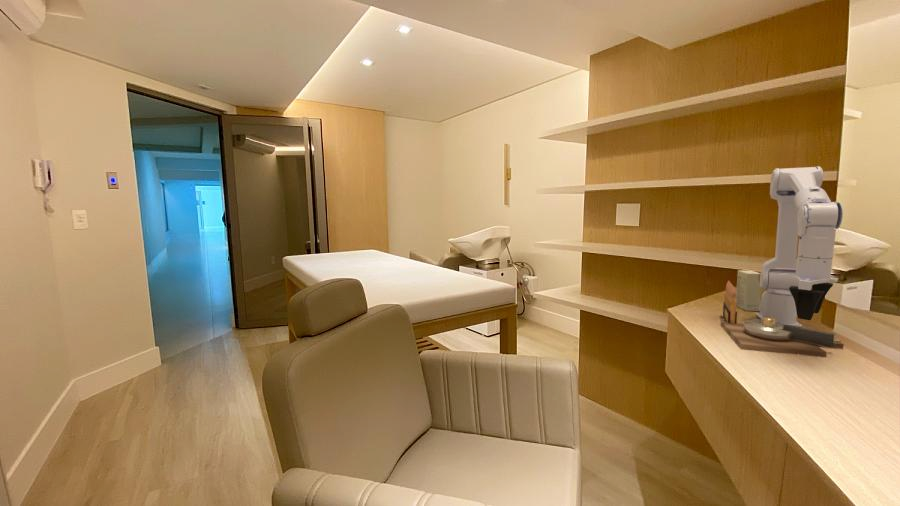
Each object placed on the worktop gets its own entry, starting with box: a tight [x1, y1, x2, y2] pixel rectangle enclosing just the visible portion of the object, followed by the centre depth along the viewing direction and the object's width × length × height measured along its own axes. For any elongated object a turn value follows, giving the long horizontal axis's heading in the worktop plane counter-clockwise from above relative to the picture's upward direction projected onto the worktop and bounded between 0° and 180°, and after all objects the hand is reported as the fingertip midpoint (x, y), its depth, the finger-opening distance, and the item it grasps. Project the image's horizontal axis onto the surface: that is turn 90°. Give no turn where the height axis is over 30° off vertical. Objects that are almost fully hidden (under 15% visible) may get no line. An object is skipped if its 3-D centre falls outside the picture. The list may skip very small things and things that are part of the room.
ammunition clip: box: [722, 280, 738, 324], centre depth 111 cm, size 11×2×12 cm, turn 152°
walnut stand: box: [720, 320, 845, 358], centre depth 97 cm, size 18×22×1 cm
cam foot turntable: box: [743, 317, 836, 347], centre depth 95 cm, size 17×10×4 cm, turn 38°
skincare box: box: [736, 269, 762, 312], centre depth 123 cm, size 6×4×12 cm
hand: (808, 315), depth 87 cm, fingers open, 7 cm apart
